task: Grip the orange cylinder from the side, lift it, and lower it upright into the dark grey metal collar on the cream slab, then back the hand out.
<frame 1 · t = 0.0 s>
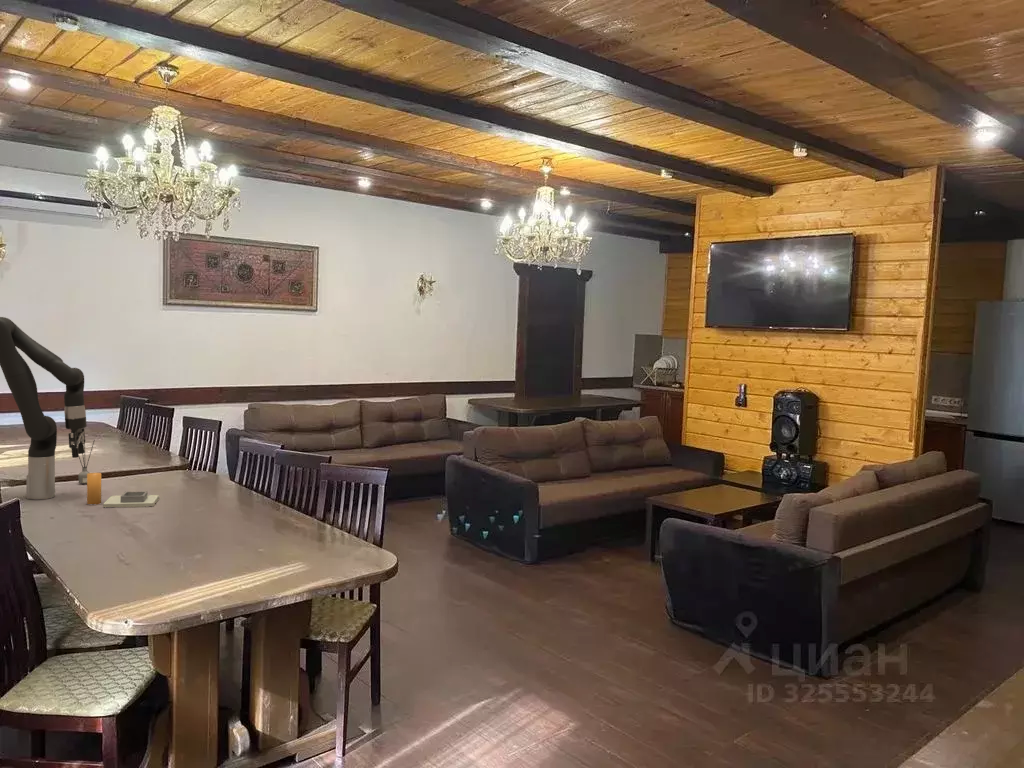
hand: (78, 455, 309), 17 cm above the table, tool pointing down, fingers open, 8 cm apart
reed diffuser: (85, 483, 334), on the table
orange cylinder: (94, 503, 301), on the table
cream slab: (132, 503, 304), on the table
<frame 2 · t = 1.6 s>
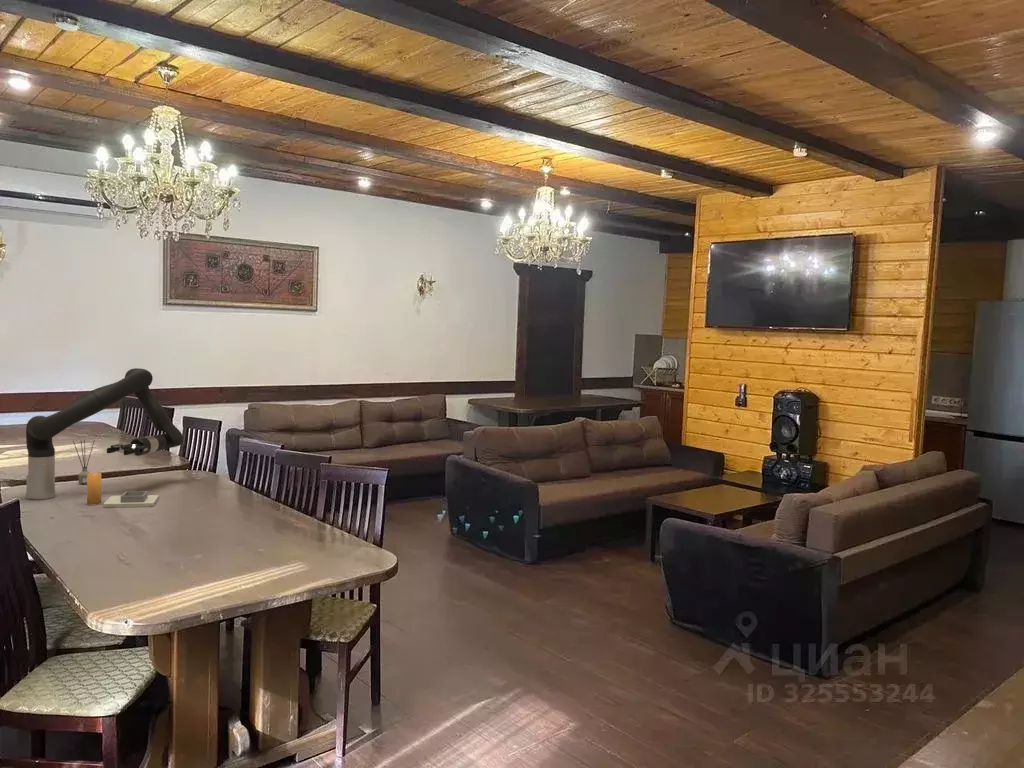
hand: (115, 451, 310), 19 cm above the table, tool horizontal, fingers open, 8 cm apart
nothing on the table moved.
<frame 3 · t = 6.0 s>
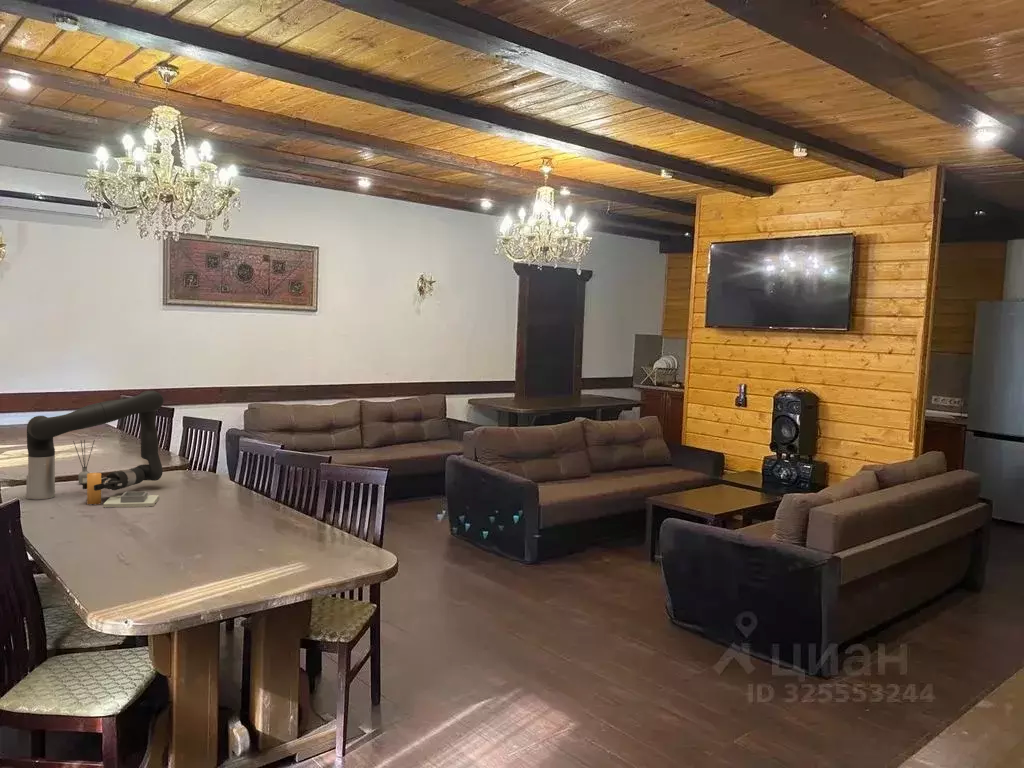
hand: (89, 487, 298), 7 cm above the table, tool horizontal, fingers closed on orange cylinder, 5 cm apart
orange cylinder: (94, 503, 301), on the table, touching gripper
everything else where it was.
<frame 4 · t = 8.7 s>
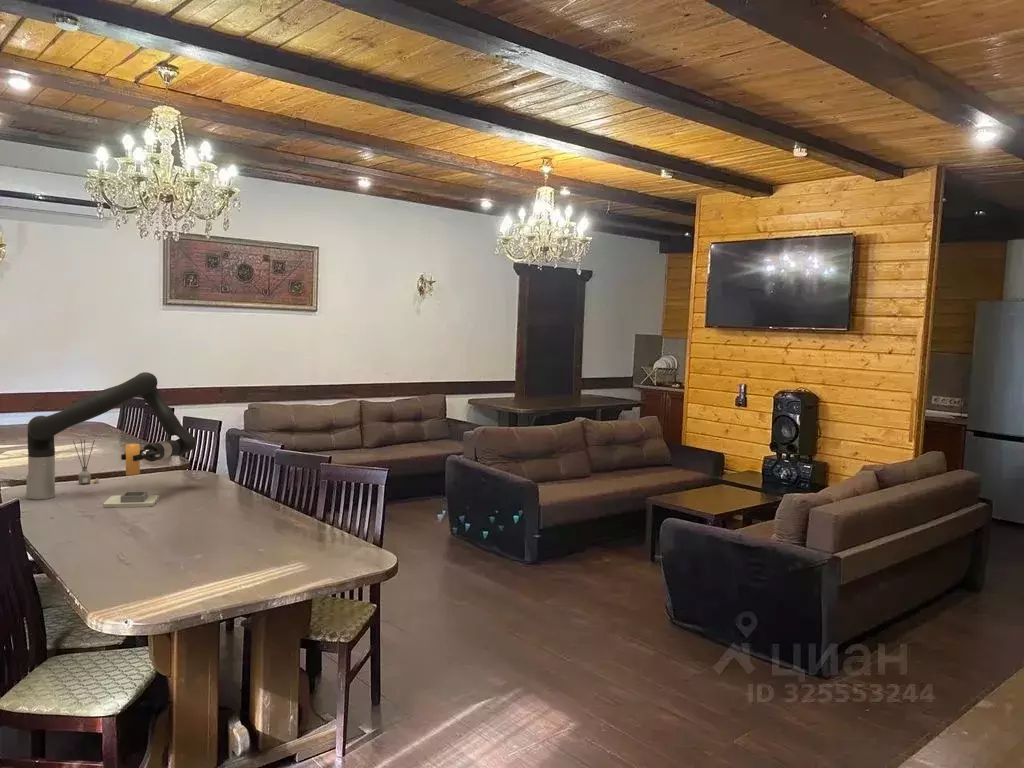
hand: (128, 457, 300), 19 cm above the table, tool horizontal, fingers closed on orange cylinder, 5 cm apart
orange cylinder: (132, 474, 303), point 12 cm above the table, touching gripper
everything else where it was.
when the fingers open (10 cm above the table, at t = 11.4 s): orange cylinder drops 1 cm, resting on cream slab.
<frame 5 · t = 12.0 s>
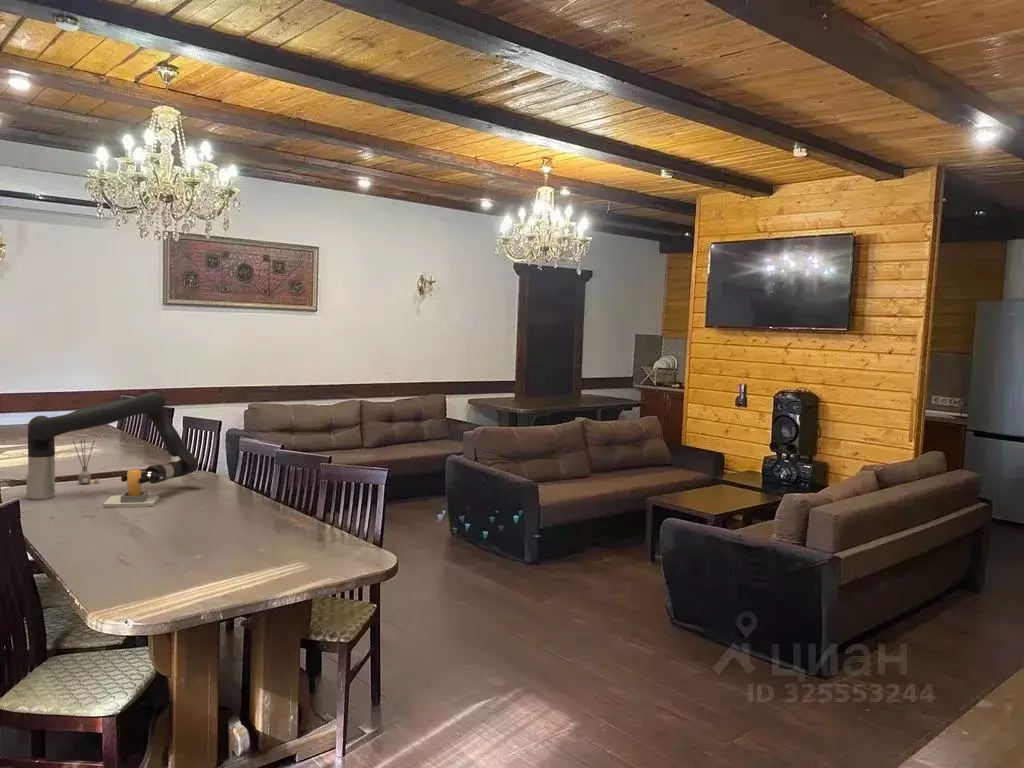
hand: (130, 480, 301), 10 cm above the table, tool horizontal, fingers open, 8 cm apart
orange cylinder: (134, 499, 304), point 2 cm above the table, touching cream slab
everything else where it was.
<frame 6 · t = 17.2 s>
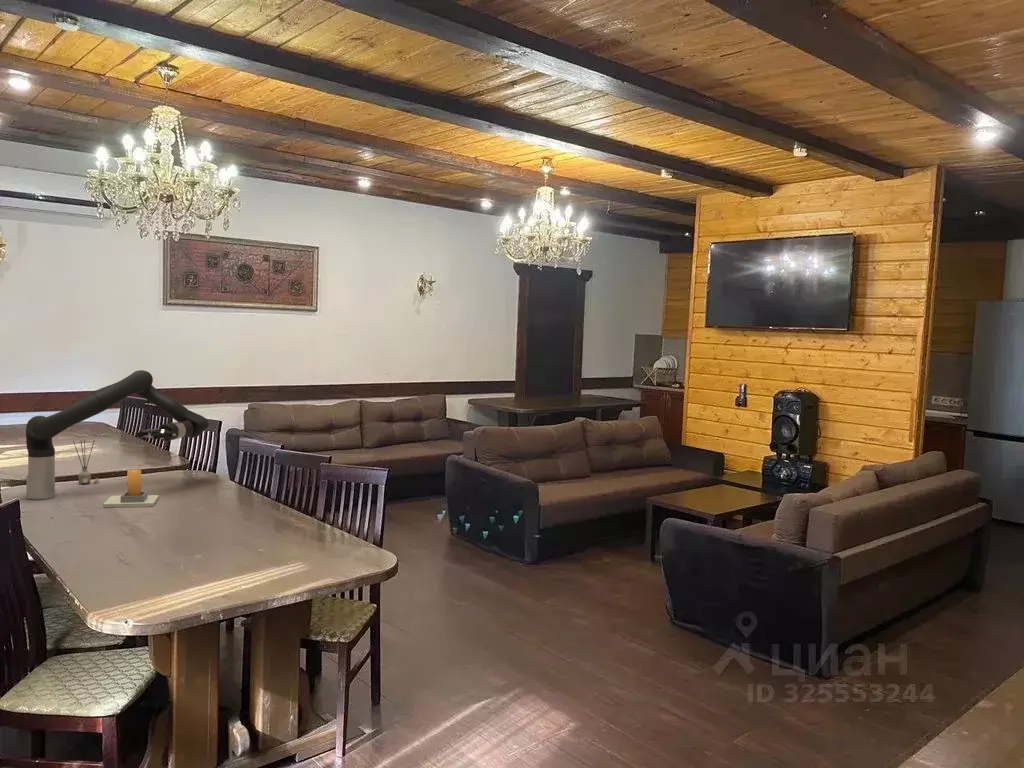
hand: (145, 436, 312), 26 cm above the table, tool horizontal, fingers open, 8 cm apart
nothing on the table moved.
at the end: orange cylinder 0.1 cm from the target spot, point 1.5 cm above the table; orange cylinder tilted 1°; the gripper is holding nothing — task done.
